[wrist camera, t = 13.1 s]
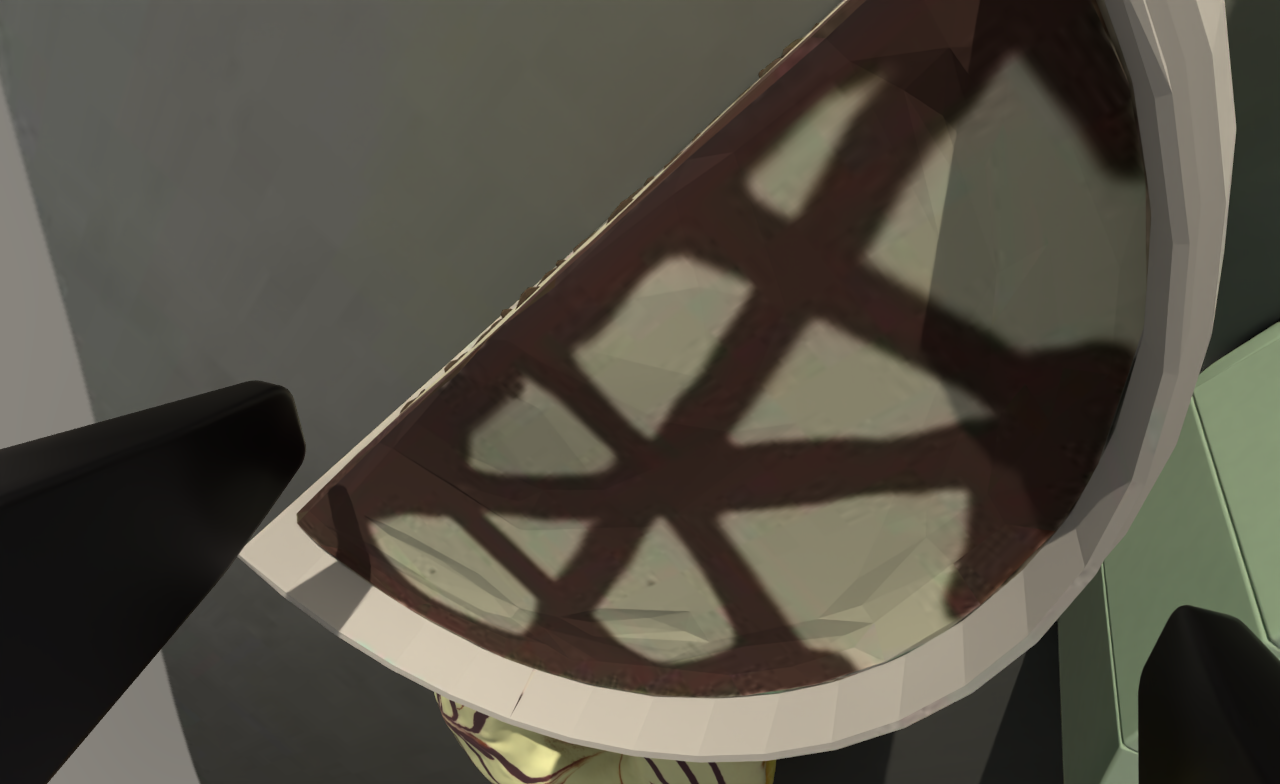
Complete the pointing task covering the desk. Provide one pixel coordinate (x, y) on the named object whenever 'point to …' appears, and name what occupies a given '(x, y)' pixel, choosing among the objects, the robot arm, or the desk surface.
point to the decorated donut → (577, 758)
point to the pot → (1179, 559)
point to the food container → (809, 395)
